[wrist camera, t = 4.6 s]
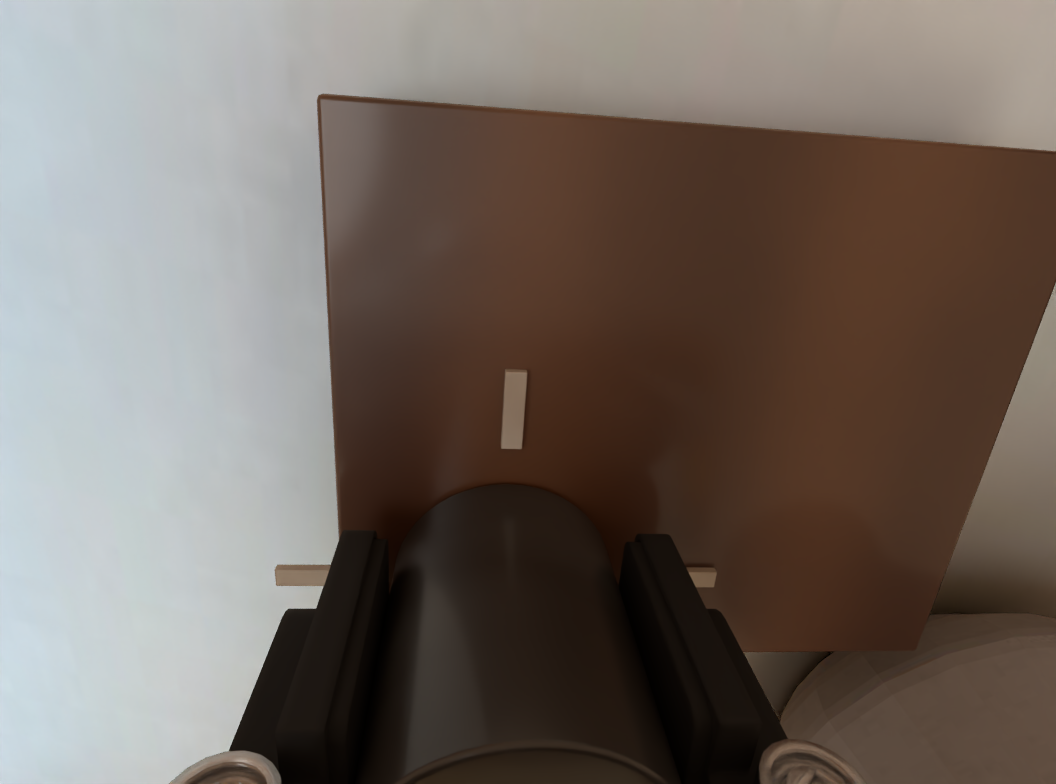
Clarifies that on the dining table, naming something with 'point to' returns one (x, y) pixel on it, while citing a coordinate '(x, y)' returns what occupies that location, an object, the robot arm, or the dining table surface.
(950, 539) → the panel
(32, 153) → the dining table surface
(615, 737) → the knob
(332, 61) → the dining table surface
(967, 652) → the coffee pot
